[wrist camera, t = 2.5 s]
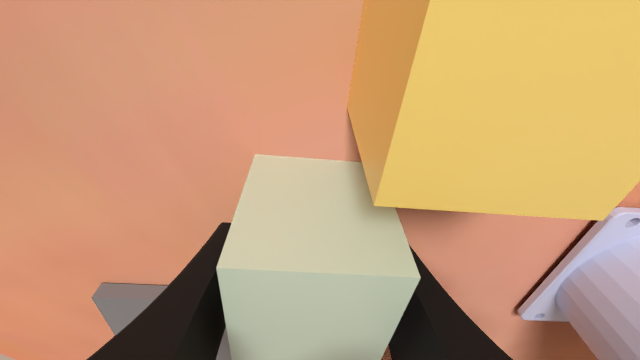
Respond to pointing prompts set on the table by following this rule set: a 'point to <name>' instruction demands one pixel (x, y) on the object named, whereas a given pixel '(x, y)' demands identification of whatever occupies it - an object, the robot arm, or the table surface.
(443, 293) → the robot arm
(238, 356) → the sage brick
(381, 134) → the mustard brick
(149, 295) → the baseplate
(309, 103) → the table surface
